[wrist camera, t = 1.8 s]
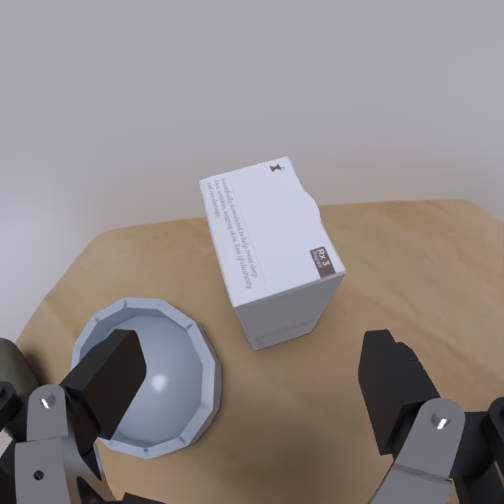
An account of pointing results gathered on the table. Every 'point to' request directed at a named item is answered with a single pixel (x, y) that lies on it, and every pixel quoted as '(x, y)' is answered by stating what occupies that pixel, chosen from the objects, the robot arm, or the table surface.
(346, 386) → the table surface
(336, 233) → the table surface
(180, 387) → the bowl
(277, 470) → the table surface
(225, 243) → the skincare box
